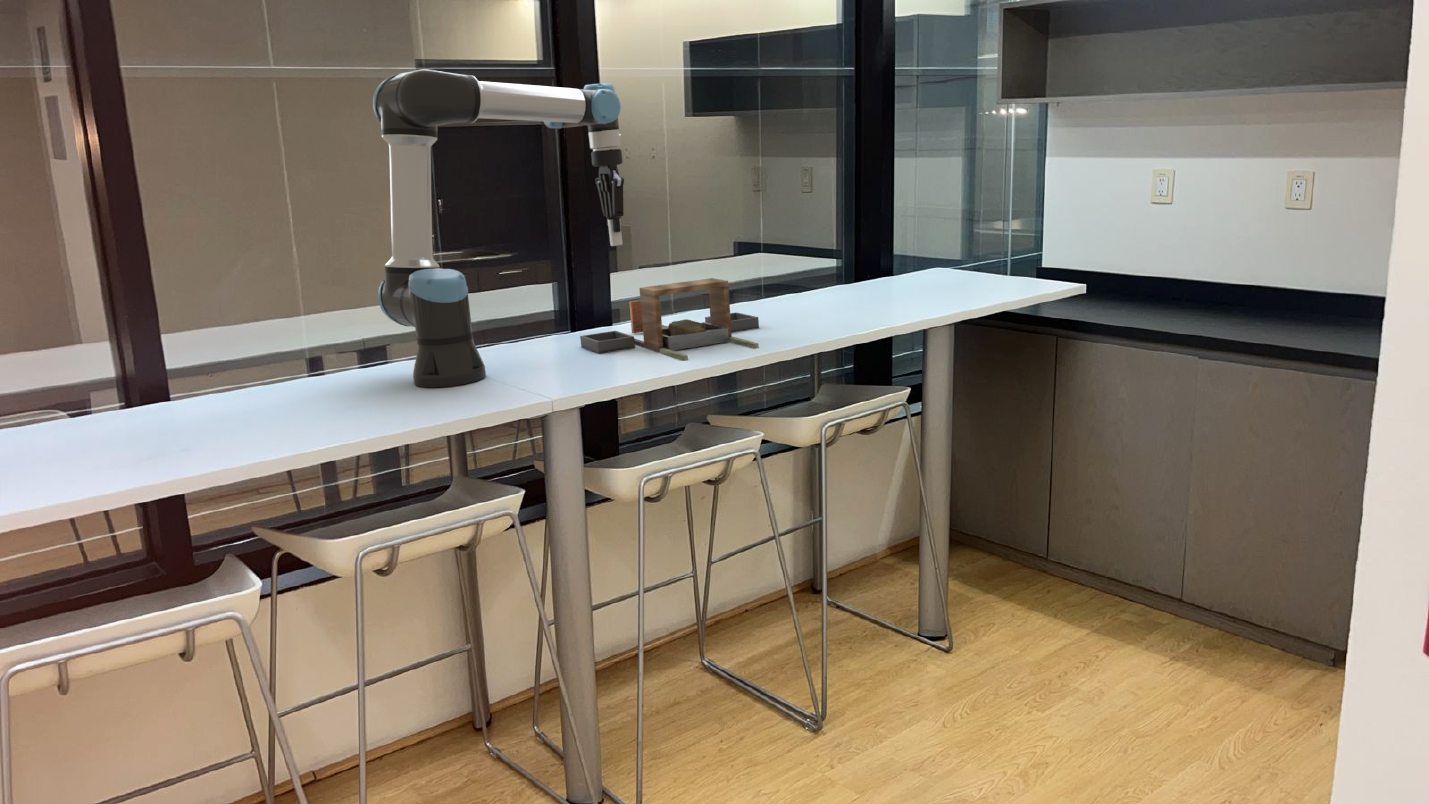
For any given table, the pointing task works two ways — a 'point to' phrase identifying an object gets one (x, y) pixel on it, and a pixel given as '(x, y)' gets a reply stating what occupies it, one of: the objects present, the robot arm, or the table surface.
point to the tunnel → (651, 294)
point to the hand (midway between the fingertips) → (616, 245)
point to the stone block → (685, 327)
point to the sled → (685, 340)
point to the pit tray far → (740, 322)
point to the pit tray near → (607, 342)
